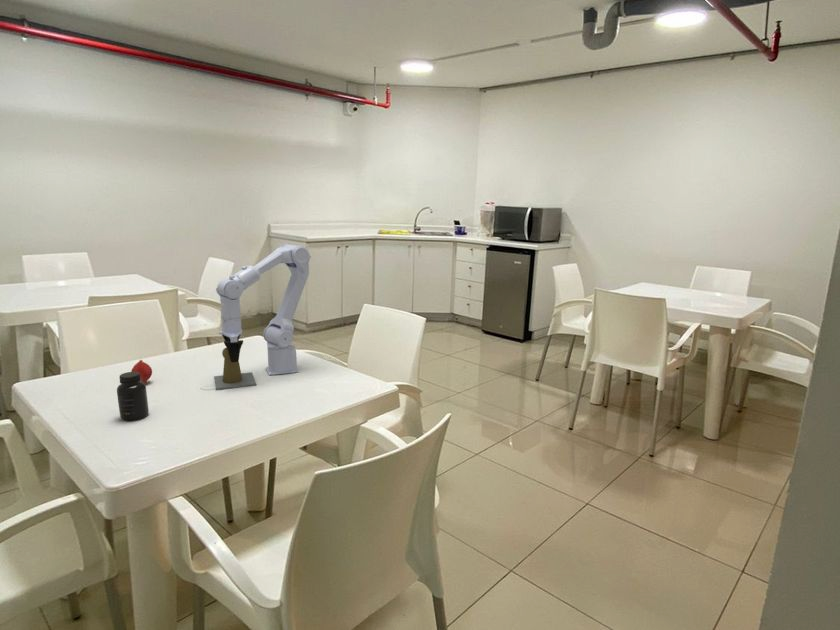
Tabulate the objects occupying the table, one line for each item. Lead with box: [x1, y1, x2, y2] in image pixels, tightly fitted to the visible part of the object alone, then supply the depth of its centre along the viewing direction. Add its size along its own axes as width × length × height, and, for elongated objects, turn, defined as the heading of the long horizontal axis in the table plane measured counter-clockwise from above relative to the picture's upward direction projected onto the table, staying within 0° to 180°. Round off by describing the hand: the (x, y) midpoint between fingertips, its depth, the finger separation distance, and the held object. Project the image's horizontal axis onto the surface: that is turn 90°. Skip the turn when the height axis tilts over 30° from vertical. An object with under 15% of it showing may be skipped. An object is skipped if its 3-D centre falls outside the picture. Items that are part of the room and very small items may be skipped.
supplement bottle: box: [116, 371, 150, 422], centre depth 136 cm, size 7×7×12 cm
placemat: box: [213, 371, 257, 391], centre depth 165 cm, size 12×12×1 cm
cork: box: [221, 347, 242, 384], centre depth 163 cm, size 6×6×11 cm
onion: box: [130, 359, 153, 384], centre depth 160 cm, size 6×6×8 cm
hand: (233, 358), depth 163 cm, fingers open, 7 cm apart
